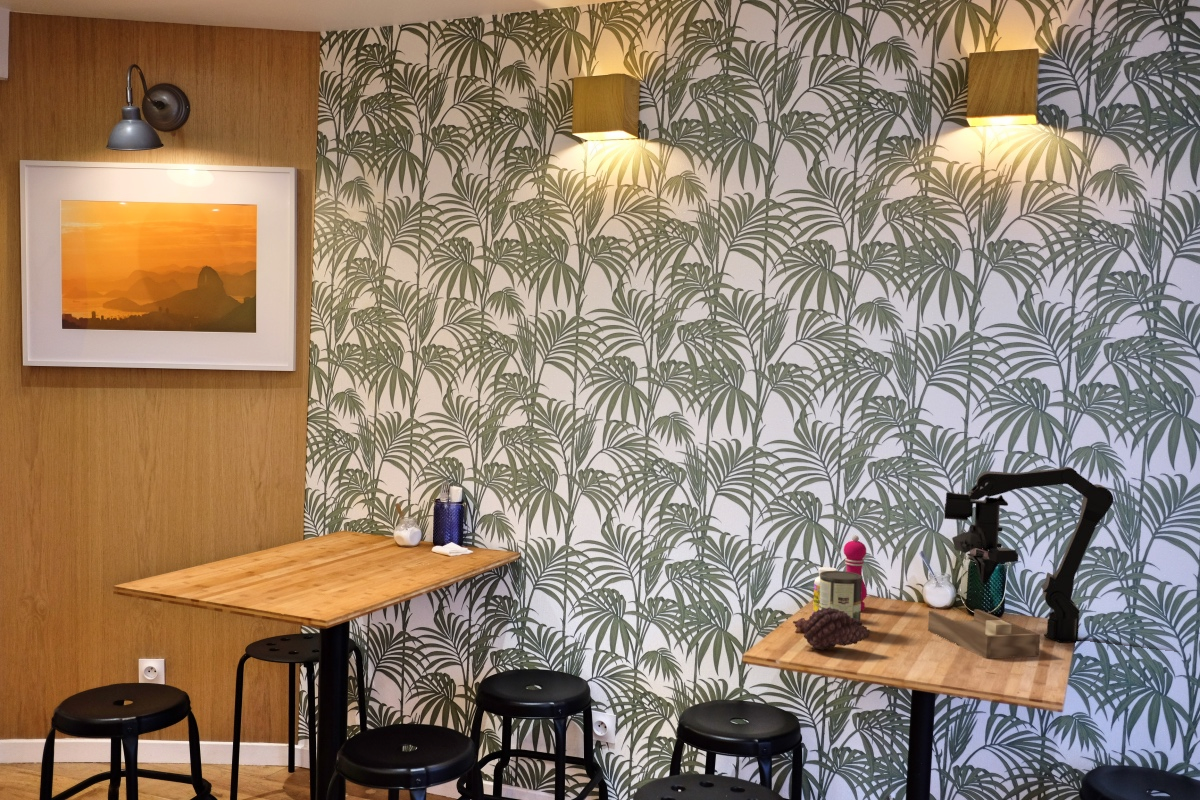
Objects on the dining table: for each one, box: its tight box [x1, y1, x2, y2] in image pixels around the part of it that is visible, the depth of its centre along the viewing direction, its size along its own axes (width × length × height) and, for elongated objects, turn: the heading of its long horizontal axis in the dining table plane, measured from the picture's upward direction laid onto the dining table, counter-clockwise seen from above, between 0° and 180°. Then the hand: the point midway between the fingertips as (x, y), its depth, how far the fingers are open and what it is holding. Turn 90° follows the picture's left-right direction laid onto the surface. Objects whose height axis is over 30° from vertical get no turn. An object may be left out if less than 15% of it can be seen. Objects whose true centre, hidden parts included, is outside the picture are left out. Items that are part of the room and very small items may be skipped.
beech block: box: [985, 620, 1011, 635], centre depth 246 cm, size 4×4×4 cm
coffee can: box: [819, 570, 863, 621], centre depth 260 cm, size 10×10×14 cm
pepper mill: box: [843, 534, 868, 612], centre depth 284 cm, size 7×7×20 cm
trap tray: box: [927, 608, 1041, 659], centre depth 254 cm, size 14×24×5 cm, turn 15°
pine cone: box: [792, 607, 871, 652], centre depth 243 cm, size 18×10×10 cm, turn 72°
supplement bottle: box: [812, 566, 838, 614], centre depth 274 cm, size 7×7×13 cm
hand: (983, 583), depth 265 cm, fingers closed
